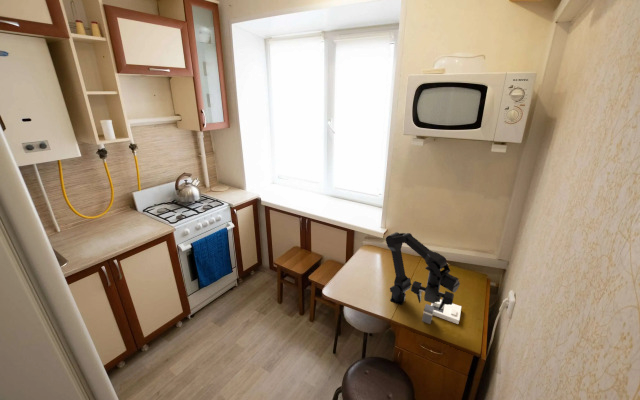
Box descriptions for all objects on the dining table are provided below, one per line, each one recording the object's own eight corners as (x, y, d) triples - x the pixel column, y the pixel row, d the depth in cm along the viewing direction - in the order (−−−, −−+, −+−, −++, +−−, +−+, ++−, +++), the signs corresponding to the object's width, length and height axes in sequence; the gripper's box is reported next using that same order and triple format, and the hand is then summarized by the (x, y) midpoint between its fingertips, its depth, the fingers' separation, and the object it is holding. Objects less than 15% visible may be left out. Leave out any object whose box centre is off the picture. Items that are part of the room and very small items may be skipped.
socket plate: (428, 313, 143) (429, 308, 142) (432, 300, 152) (433, 295, 151) (458, 324, 137) (459, 319, 136) (460, 310, 146) (461, 305, 144)
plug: (421, 321, 139) (424, 308, 136) (423, 315, 142) (425, 303, 139) (430, 324, 137) (432, 312, 134) (431, 318, 140) (434, 306, 137)
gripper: (410, 283, 128) (406, 309, 134) (453, 297, 119) (447, 324, 125) (415, 270, 137) (411, 295, 143) (456, 283, 128) (450, 309, 134)
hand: (429, 305), depth 136 cm, fingers open, 9 cm apart
